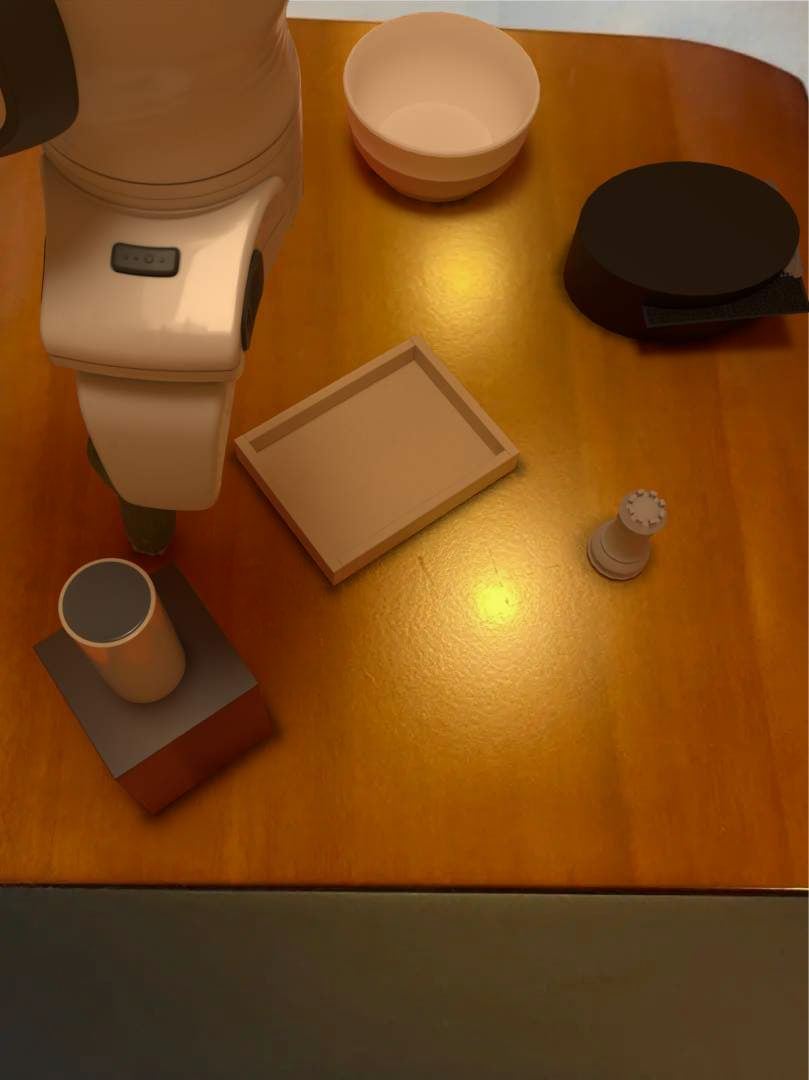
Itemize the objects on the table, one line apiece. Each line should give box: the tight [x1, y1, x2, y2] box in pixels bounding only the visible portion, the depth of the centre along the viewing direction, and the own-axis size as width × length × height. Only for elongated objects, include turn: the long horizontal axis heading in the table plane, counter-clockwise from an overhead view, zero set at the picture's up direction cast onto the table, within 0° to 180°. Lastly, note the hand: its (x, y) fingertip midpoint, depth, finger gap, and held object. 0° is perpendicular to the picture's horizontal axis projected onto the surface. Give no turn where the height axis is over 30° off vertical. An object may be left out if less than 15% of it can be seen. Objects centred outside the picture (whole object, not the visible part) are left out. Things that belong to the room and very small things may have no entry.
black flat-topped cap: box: [563, 160, 809, 344], centre depth 80 cm, size 14×18×8 cm
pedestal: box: [32, 560, 273, 815], centre depth 60 cm, size 9×9×12 cm
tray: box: [233, 333, 521, 587], centre depth 73 cm, size 17×13×3 cm
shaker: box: [57, 557, 186, 703], centre depth 50 cm, size 4×4×10 cm
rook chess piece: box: [587, 488, 668, 581], centre depth 69 cm, size 4×4×8 cm
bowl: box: [342, 11, 541, 203], centre depth 83 cm, size 16×16×8 cm
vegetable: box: [86, 434, 177, 557], centre depth 61 cm, size 4×4×20 cm
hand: (217, 370), depth 48 cm, fingers open, 8 cm apart
